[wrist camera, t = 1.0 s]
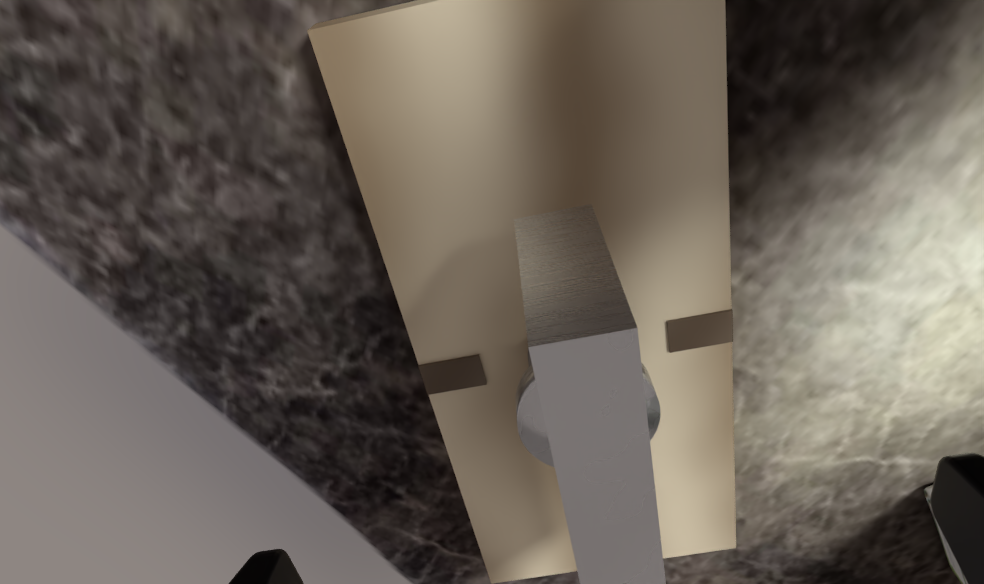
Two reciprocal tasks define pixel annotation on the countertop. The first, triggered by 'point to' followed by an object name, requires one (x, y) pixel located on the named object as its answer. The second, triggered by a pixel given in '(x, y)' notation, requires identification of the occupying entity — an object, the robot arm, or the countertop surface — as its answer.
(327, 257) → the countertop surface
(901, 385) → the countertop surface
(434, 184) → the post board
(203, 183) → the countertop surface
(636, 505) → the grey rectangular bar
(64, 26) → the countertop surface
